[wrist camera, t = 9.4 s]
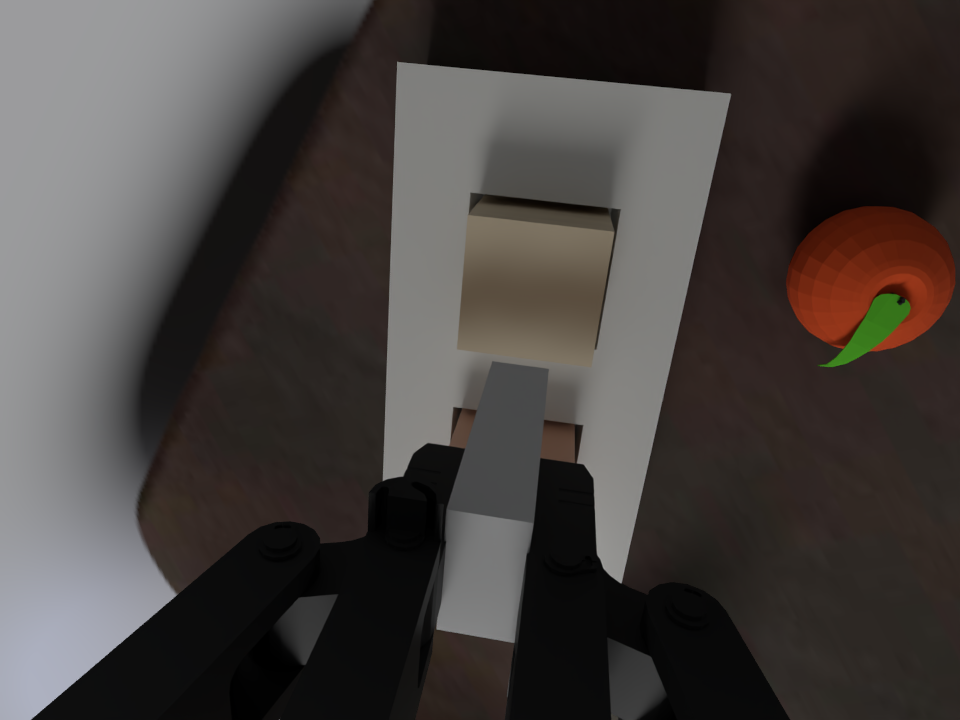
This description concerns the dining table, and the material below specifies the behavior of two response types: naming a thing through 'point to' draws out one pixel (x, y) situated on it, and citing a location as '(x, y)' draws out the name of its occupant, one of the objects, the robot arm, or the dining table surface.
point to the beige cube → (534, 279)
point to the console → (557, 178)
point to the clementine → (870, 280)
